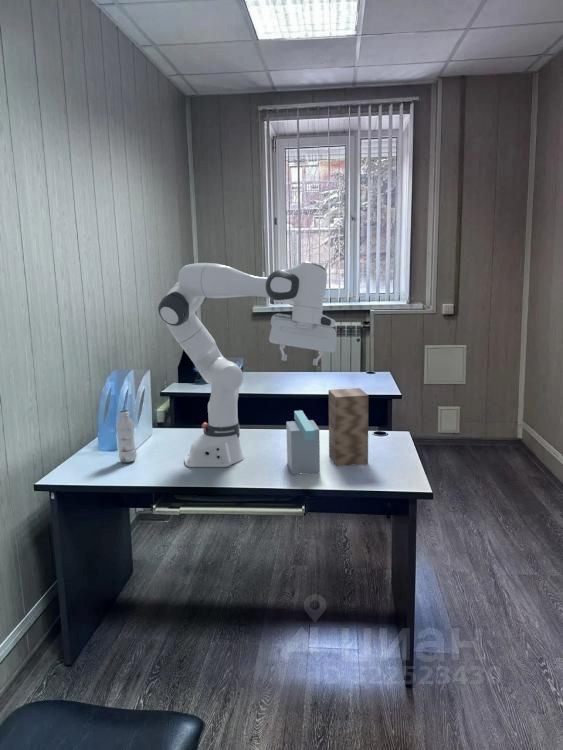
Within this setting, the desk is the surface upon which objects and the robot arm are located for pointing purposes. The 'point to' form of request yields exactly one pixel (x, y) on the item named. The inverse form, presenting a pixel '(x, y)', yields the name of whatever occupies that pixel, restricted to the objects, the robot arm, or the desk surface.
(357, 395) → the walnut pedestal
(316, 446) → the slate base
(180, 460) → the desk surface
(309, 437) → the teal bar
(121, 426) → the plastic bottle
